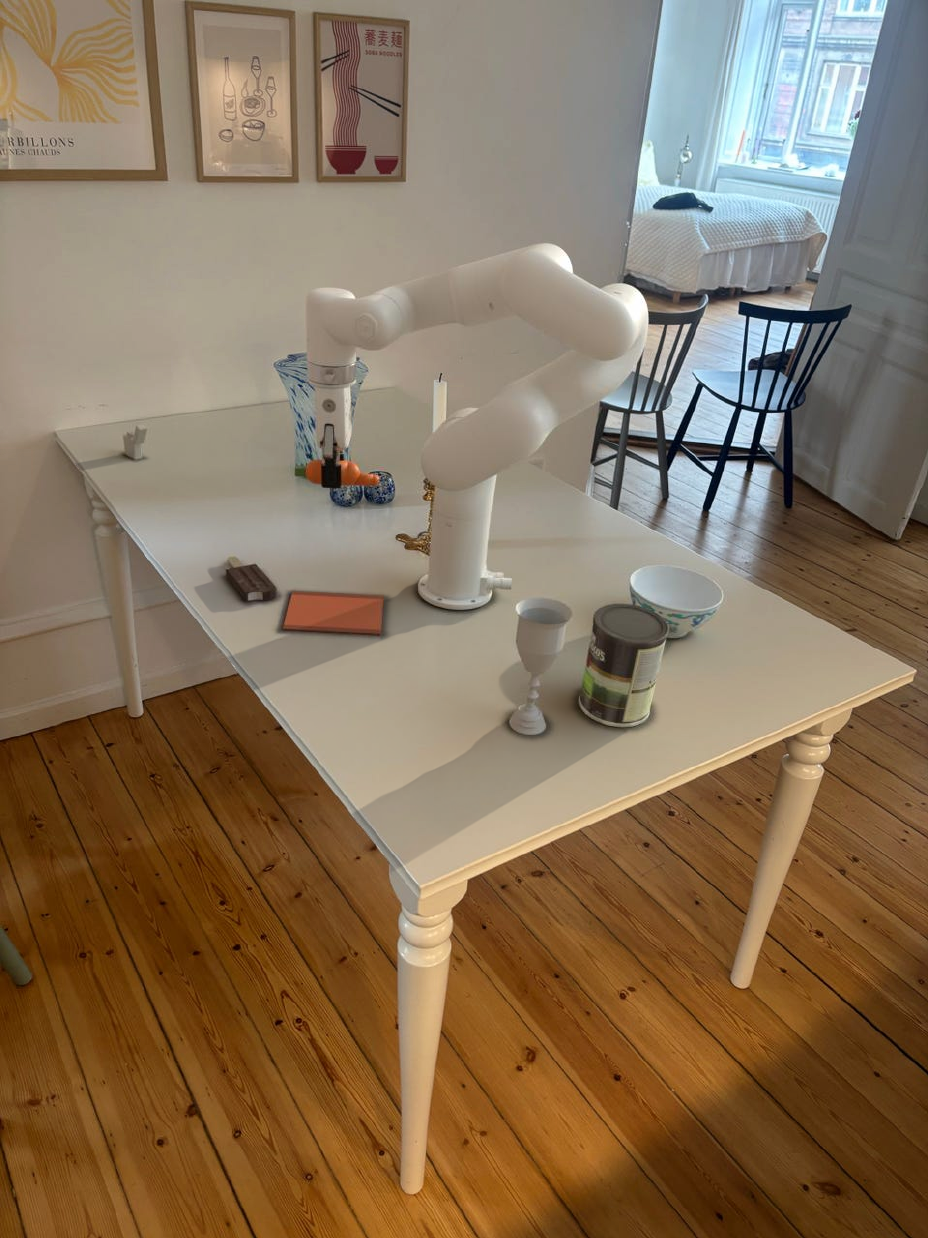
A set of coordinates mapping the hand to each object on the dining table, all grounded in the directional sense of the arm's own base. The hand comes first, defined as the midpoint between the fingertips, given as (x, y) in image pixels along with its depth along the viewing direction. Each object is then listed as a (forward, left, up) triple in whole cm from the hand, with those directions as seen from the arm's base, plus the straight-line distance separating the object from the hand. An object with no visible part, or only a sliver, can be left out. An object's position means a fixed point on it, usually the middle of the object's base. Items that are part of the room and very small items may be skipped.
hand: (332, 480), depth 154 cm
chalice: (-30, +43, -16) cm, 55 cm away
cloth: (-2, +16, -16) cm, 23 cm away
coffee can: (-43, +38, -16) cm, 60 cm away
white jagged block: (+45, -44, -16) cm, 65 cm away
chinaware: (-56, +15, -16) cm, 61 cm away
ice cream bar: (+14, +7, -16) cm, 22 cm away
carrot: (0, 0, 0) cm, 0 cm away
